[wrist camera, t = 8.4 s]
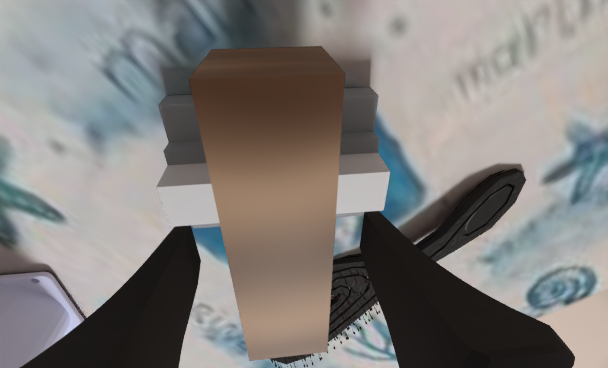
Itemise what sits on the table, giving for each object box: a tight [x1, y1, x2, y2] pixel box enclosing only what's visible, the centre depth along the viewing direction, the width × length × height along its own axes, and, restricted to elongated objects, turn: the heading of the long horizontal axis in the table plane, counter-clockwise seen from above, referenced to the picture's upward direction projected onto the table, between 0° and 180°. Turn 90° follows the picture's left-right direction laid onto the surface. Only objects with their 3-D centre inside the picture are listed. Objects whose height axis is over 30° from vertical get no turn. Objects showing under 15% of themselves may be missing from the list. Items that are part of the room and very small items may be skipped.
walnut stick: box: [189, 46, 345, 361], centre depth 13 cm, size 14×4×4 cm, turn 1°
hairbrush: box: [270, 169, 526, 368], centre depth 24 cm, size 8×4×25 cm
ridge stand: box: [156, 87, 390, 228], centre depth 17 cm, size 11×8×4 cm
